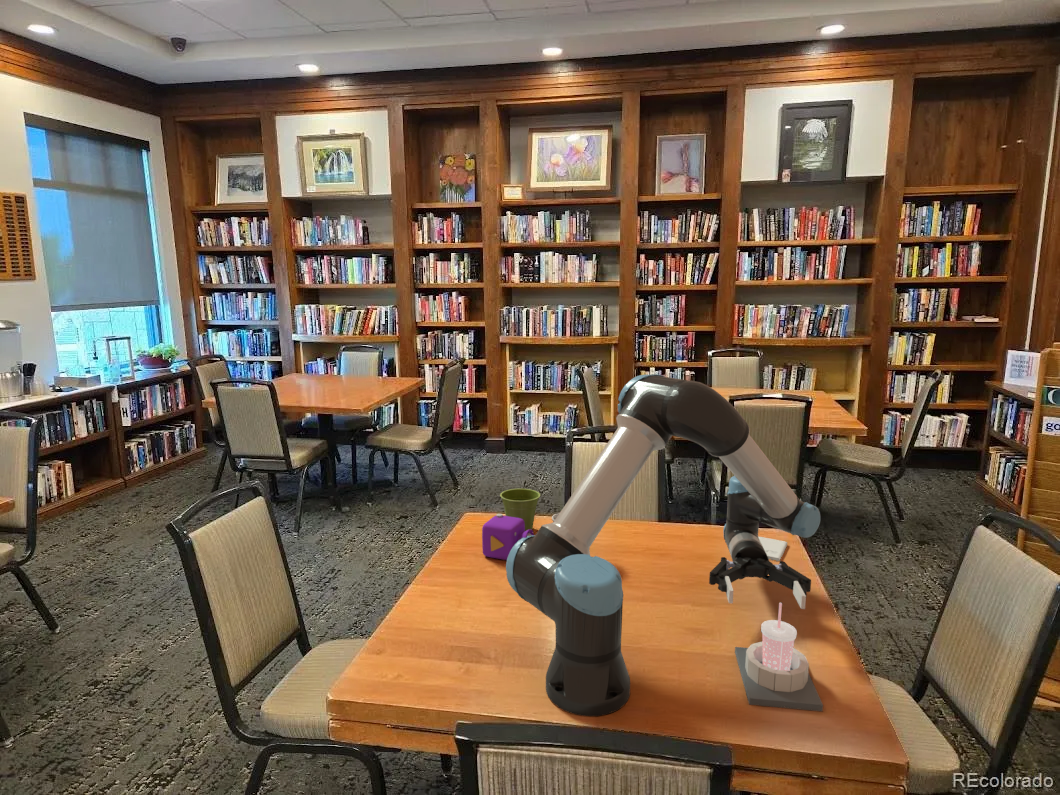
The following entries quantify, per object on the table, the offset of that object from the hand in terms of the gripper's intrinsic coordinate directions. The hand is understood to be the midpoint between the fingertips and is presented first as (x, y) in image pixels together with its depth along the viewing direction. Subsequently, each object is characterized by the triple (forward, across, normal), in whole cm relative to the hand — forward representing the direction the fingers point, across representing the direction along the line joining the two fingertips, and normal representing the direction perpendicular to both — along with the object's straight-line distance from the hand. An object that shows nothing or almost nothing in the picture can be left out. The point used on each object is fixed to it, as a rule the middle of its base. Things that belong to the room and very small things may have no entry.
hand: (767, 599), depth 125 cm
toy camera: (-37, +59, -11) cm, 70 cm away
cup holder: (+10, 0, -11) cm, 15 cm away
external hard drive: (-50, -10, -11) cm, 53 cm away
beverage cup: (+10, 0, -10) cm, 14 cm away
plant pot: (-54, +59, -11) cm, 81 cm away
